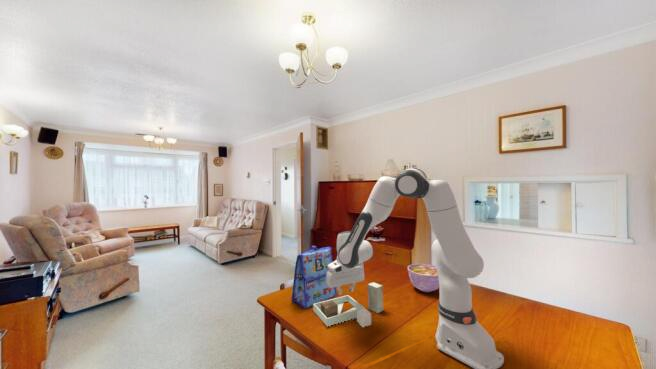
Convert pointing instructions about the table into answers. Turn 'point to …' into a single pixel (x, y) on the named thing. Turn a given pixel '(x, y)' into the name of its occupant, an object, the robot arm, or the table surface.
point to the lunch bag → (312, 277)
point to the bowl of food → (424, 277)
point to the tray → (340, 317)
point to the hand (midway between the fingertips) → (345, 292)
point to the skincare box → (375, 297)
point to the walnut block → (329, 308)
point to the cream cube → (364, 317)
